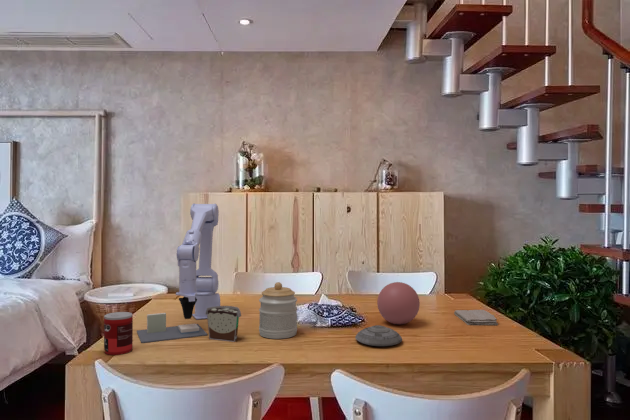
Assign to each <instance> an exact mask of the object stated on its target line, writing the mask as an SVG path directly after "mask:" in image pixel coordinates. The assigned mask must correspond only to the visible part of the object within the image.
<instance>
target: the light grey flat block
mask: <svg viewBox="0 0 630 420" xmlns="http://www.w3.org/2000/svg"><path fill="white" fill-rule="evenodd" d="M197 324H198V323H187V324H180V325H179V324H178V325H177V326H178V330H179V332H180V333H181V334H188V333H197V332H199V327H198V326H197Z"/></svg>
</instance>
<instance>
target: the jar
mask: <svg viewBox="0 0 630 420" xmlns="http://www.w3.org/2000/svg"><path fill="white" fill-rule="evenodd" d="M295 293H296V292H295V291H294V290H292V289H291V288H289V287H284V286H283V284H282V282H280V281H279V282H275V283H274V287H267V288H266V289H265V290H263V291H261V295H262V297H260V298H259V299H258V301H259V303H260V308H258V311H259V326H258V333H259V335H260V336H261V337H263V338H265V339H271V340H273V339H275V340H276V339H279V340H280V339H288V338H292V337H294V336H296V335H297V331H298V323H297V322H298V317H297V316H298V308H297V304H296V303H297V302H298V298H297V296H295Z"/></svg>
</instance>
